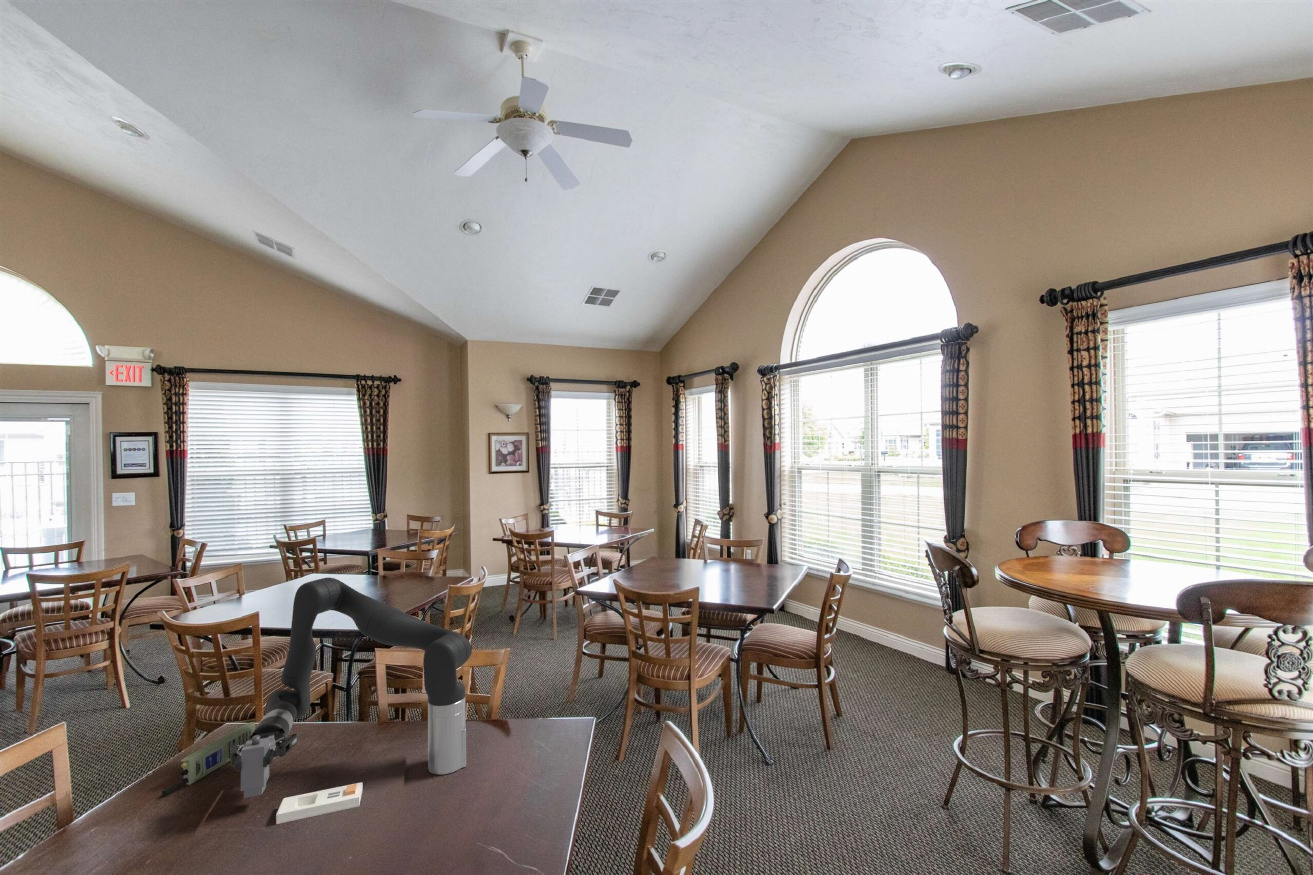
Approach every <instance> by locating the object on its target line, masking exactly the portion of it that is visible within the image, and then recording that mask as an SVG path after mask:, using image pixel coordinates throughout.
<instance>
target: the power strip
mask: <svg viewBox="0 0 1313 875" xmlns="http://www.w3.org/2000/svg"><path fill="white" fill-rule="evenodd" d="M362 794H363V782H356V783H352V784H347V785H343V786H336V787H333V788H327V789H322V790H317V791H313V792H308V793H304V794H303V793H302V794H298V795H292V796H288V797H284V798H283V799H282V801H281V803H280V805H279V808H278V810H277V811H276V815H275V819H276V821H275V822H276V823H275V824H276V825H278V824H283V823H288V822H289V823H290V822H292V821H299V820H302V819H303V820H304V819H307V818H311V817H316V816H321V815H326V814H330V813H335V812H339V811H344V810H348V809H353V808H359V807H360V805H361V804H360V803H361V798H362V796H363V795H362Z"/></svg>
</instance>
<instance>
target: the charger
mask: <svg viewBox="0 0 1313 875" xmlns="http://www.w3.org/2000/svg"><path fill="white" fill-rule="evenodd" d="M268 750H270V737H269V738H263V739H260V735H256V736H253V737H252V740H251V741H247V742H246V744H245V745H244V747H243V748H242V750H241V772H240V792H243V798H244V799H247V798H252V797H256V796H262V795H263V793H264V791H265V790H266V788H267V782H268V779H269V778H270V764H268V766H267V767H264V768H263V759H264V757H265V755H266V753H267V752H268Z"/></svg>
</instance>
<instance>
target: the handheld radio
mask: <svg viewBox="0 0 1313 875" xmlns="http://www.w3.org/2000/svg"><path fill="white" fill-rule="evenodd" d="M255 728H256V722H254V721H253V722H248V723H246V724H244V725H242V726H240V727H238V728H236V729H235V730H233V731H230V733H227V734H226V735H224V736H222V737H220V738H218V739H216V740H214V741H212V742H211V743H208V744H207V745H205V746H203V747H201V748H200V749H198V750H196V751H195V752H193V753H191V754H189V755H187V756H186V757H183V758H182V759H181V760H180V762H183V763H182V764H180V767H181V768H183V770H182V771H181V772H180V773H179V774H180V776H182V777H183V779H181V780H180V781H178V782H176V783H174V784H173V785H170V786H169V787H167V788H166V789H164V790H162V791H161V795H162V797H166V796H168V795H169V794H171V793H173V792H174V791H176V790H177V789H179V788H181V787H182V786H185V785H186V786H187V785H189V786H190V785H192V784H194V783H196V782H197V781H199V780H200V779H202V778H204V777H205V776H207V775H209V774H210V773H212V772H214V771H216V770H218V769H219V768H221V767H222V766H224V765H226V764H228V763H229V762H231V759H230V745H232V744H235V743H236V744H237V745H239V746H240V745H244V743H245V742H246V741H248V740H249V739H250V737H251V735H252V733H253V731H254V730H255ZM240 753H241V752H240Z"/></svg>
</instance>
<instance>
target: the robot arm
mask: <svg viewBox="0 0 1313 875" xmlns="http://www.w3.org/2000/svg"><path fill="white" fill-rule="evenodd" d="M292 604H293V606H292V607H293V608H292V616H291V625H290V636H289V637H290V638H289V646H288V651H287V655H286V660H285V662H284V667H283V669H282V670H283V671H282V673H281V678H280V681H281V684H282V685H284V686H285V687H288V688H291V689H284V688H282V689H281V688H280V689H277V690H275V691H273V692H271V694H270V695H269V696H268V699H267V700H266V704H265V715H264V716H263V717H262V718H261V719H260V721H259V723H258V724H257V725H256V726H255V730H254V731H253V733H252V735H251V737H250V739H249V740H248V741H251V740H252V737H253V736H256V735H260V739H263V738H269V737H270V750H268V752H267V753H266V755H265V757H264V759H263V768H264V767H267V766H268V764H269V765H271V764H272V763H273V761H274V760H275V759H276V758H277V757H278V756H279V758H280V757H281V758H282V757H284V756H286V755H287V754H288V753H289V752H291V750H292V749H293V748H294V747H296V746H297V743H298V742H297V741H298V739H297V738H298V735H297V734H298V733H292V734H291V735H289V734H290V732H291V730H292V727H293V724H294V723H295V720H296V719H300V718H302V717H303V716H305V715H306V714H307V713H308V711H309V709H310V706H311V699H312V698H311V687H310V686H311V676H312V672H313V669H314V665H315V661H316V658H317V657H316V656H317V648H316V644H315V641H314V638H313V628H314V623H315V621H316V620H317V617H318V615H319V614H323V613H325V612H328V611H334V612H338V613H341V614H343V615H345V616H348V617H349V618H351V619H352V620H353V622H354V624H355V627H356V628H357V629H358V631H359V632H360V633H361V634H362V635H363V636H366V637H367V638H368V639H369V638H370V639H371V640H374V641H375V642H377V643H380V644H384V645H387V646H393V647H403V648H414V649H419V650H422V651H424V654H423V664H422V665H423V667H422V668H423V682H424V684H423V685H424V690H425V693H426V695H427V757H428V758H427V770H428V772H429V773H431V774H434V775H447V774H451V773H455V772H456V771H459V770H461V769H462V768H466V767H467V728H466V685H465V684H464V683H463V682H461V681H458V679H457V678H458V677H457V669H459V668H460V667H462V666H463V665H464V664H466V662H467V661H468V660H469V659H470V658H471V656H472V645H471V643H470V641H469V640H468V638H467V637H466V636H465V635H463V634H462V633H459V632H457V631H453V630H451V629H447V628H444V627H441V626H438V625H435V624H432V623H429V622H427V621H424V620H422V619H420V618H418V617H415V616H413V615H411V614H408V613H406V612H404V611H403V610H400V609H398V608H397V607H394V606H391V605H389V604H386V603H384V602H382V601H379V600H378V599H377V600H376V599H374V598H372V597H371V596H368V595H365V594H363V593H361V592H359V591H358V590H356V589H354V588H352V587H351V586H349V585H348V584H346V583H345V582H342V581H341V580H339V579H337V578H334V577H322V578H319V579H315V580H311V581H307V582H305V583H303V584H301V585H300V586H299V587H298V588H297V590H296V592H295V595H294V599H293V603H292ZM246 742H247V741H246ZM246 742H245V743H244V745H245V744H246ZM244 745H240V746H239V745H237V744H236V743H235V744H232V745H230V759H231V761H230V766H234V771H236V773H241V753H240V752H241V750H242V748H243V747H244Z"/></svg>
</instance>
